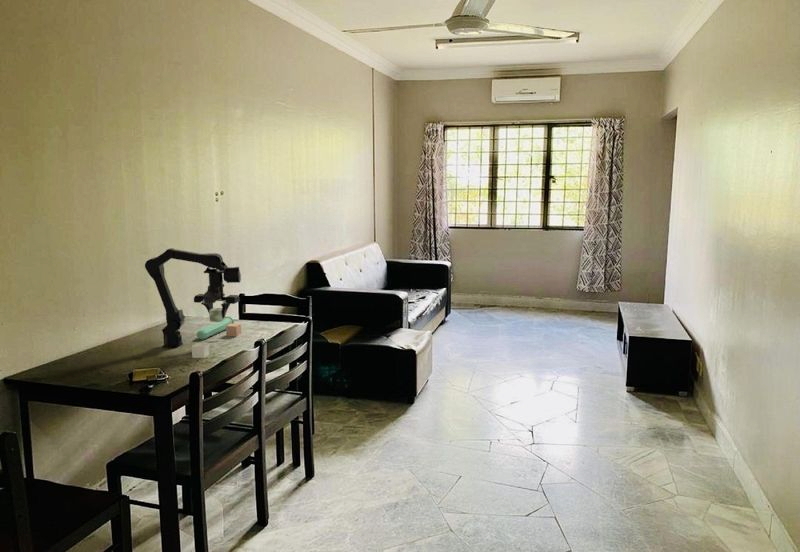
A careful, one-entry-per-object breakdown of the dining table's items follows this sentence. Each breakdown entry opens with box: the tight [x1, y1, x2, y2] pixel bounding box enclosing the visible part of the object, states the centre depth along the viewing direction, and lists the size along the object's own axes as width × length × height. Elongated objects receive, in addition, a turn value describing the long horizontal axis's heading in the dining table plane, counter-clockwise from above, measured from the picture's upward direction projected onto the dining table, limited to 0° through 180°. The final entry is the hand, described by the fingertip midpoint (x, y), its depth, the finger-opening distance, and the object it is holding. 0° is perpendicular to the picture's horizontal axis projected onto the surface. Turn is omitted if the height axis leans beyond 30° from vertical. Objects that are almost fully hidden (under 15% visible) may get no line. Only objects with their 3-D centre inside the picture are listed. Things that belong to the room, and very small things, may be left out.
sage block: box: [208, 307, 227, 323], centre depth 259 cm, size 5×5×5 cm
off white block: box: [191, 342, 210, 359], centre depth 244 cm, size 5×5×5 cm
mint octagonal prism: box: [196, 316, 235, 340], centre depth 279 cm, size 6×6×25 cm
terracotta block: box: [225, 323, 242, 337], centre depth 276 cm, size 5×5×5 cm
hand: (217, 318), depth 259 cm, fingers closed on sage block, 5 cm apart
